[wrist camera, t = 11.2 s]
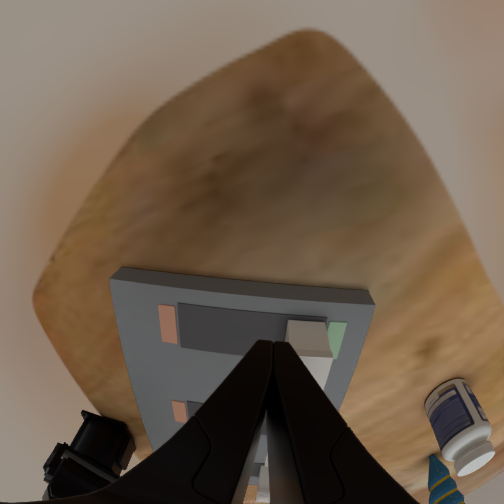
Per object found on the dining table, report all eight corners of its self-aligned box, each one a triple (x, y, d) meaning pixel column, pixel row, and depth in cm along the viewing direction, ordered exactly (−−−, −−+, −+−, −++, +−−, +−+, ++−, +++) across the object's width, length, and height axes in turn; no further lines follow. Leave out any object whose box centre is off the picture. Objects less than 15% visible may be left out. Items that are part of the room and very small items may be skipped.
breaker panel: (164, 458, 31) (160, 470, 29) (121, 267, 21) (108, 279, 19) (301, 475, 30) (301, 487, 28) (367, 290, 20) (376, 306, 18)
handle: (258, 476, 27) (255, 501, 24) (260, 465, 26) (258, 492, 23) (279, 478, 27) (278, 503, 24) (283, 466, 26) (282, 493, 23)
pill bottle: (417, 415, 25) (441, 486, 16) (432, 381, 23) (466, 458, 14) (456, 405, 25) (484, 469, 15) (473, 372, 23) (511, 439, 14)
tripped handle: (281, 357, 20) (281, 394, 17) (287, 319, 19) (288, 355, 16) (316, 359, 20) (321, 396, 17) (325, 321, 19) (333, 357, 15)
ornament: (430, 446, 28) (456, 536, 14) (455, 443, 28) (482, 524, 14) (409, 465, 30) (428, 549, 16) (434, 462, 30) (455, 539, 16)
